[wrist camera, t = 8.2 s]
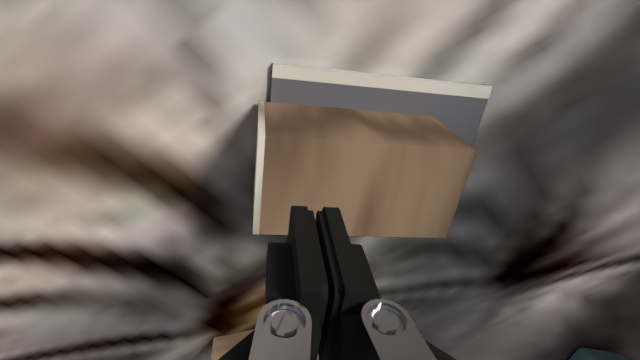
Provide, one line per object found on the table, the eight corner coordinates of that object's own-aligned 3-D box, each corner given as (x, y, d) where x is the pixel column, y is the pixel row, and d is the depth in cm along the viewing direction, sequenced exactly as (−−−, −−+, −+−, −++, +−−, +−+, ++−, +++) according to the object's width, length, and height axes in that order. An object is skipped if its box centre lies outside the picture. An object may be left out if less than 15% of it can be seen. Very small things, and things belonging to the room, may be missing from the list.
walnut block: (258, 101, 19) (432, 116, 21) (254, 183, 22) (411, 190, 23) (257, 135, 15) (477, 150, 17) (252, 234, 17) (446, 237, 19)
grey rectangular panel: (489, 85, 21) (492, 86, 21) (445, 215, 25) (447, 217, 25) (272, 62, 19) (272, 63, 18) (262, 209, 23) (263, 212, 23)
